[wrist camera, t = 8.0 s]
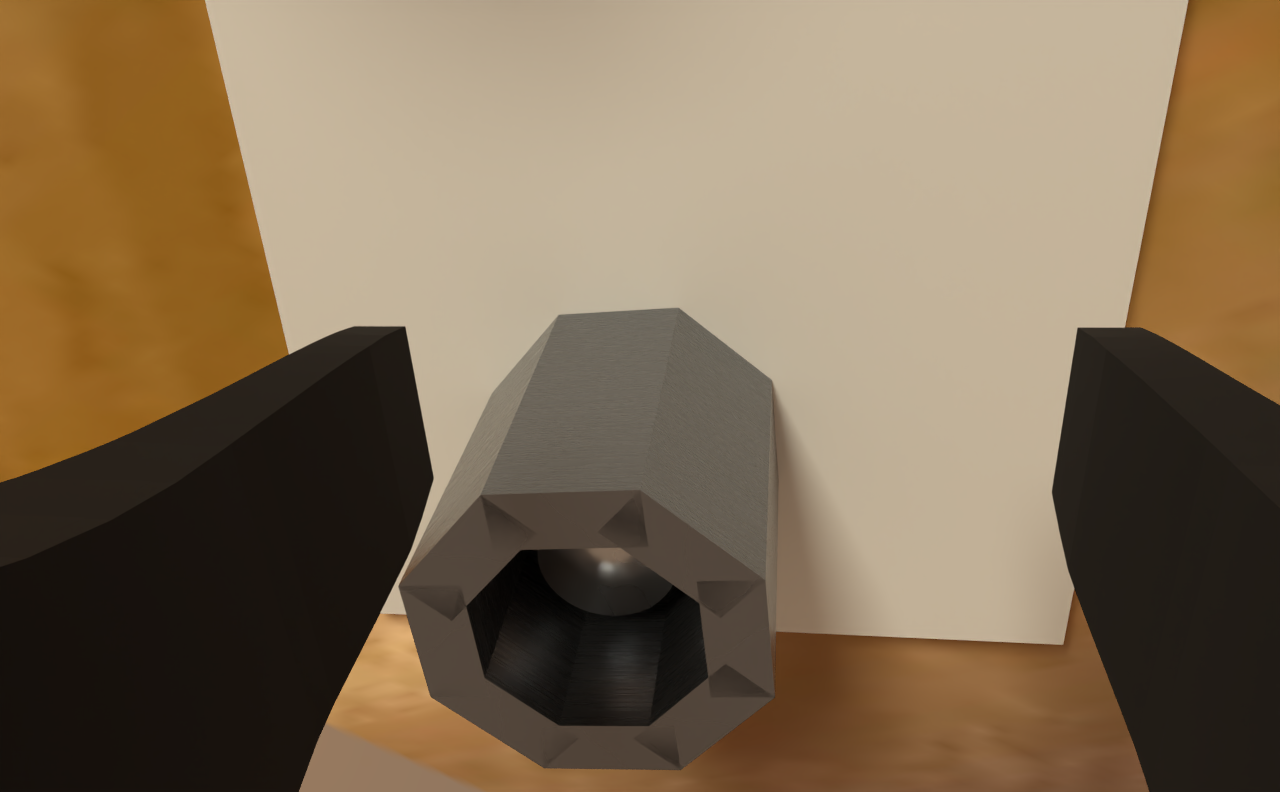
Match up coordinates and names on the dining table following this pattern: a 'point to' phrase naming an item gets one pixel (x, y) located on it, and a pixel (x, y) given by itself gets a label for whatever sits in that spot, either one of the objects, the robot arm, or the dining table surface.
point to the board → (741, 239)
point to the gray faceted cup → (608, 518)
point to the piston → (602, 580)
